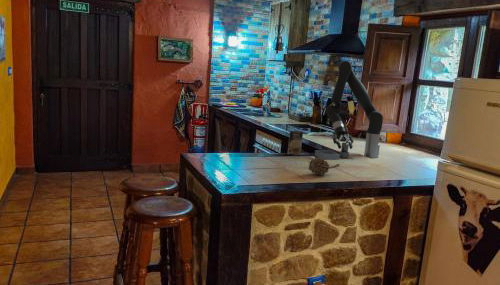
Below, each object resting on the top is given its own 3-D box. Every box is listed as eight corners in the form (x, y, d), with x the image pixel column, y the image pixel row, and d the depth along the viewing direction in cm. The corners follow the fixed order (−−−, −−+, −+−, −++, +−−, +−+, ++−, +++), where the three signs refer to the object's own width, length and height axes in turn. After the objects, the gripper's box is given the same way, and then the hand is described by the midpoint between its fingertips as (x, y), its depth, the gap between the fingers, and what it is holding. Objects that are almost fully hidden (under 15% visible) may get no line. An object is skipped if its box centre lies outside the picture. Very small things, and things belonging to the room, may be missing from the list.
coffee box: (287, 154, 288) (289, 131, 285) (287, 152, 295) (289, 130, 292) (300, 155, 287) (302, 132, 285) (300, 154, 294) (302, 131, 291)
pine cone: (314, 178, 229) (316, 160, 227) (303, 173, 237) (305, 156, 235) (343, 174, 241) (345, 158, 239) (331, 170, 249) (333, 154, 247)
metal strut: (345, 156, 288) (346, 142, 286) (348, 158, 284) (350, 143, 282) (339, 156, 286) (340, 142, 285) (342, 158, 282) (344, 143, 280)
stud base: (346, 157, 292) (347, 151, 291) (354, 161, 282) (355, 154, 281) (332, 157, 289) (333, 151, 288) (340, 161, 278) (341, 154, 278)
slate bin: (329, 157, 289) (330, 150, 288) (339, 161, 277) (339, 154, 276) (314, 157, 285) (315, 150, 285) (323, 161, 273) (323, 154, 273)
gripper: (332, 125, 286) (339, 145, 277) (350, 126, 291) (357, 145, 282) (328, 131, 292) (334, 151, 283) (345, 132, 296) (352, 151, 288)
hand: (345, 148), depth 283 cm, fingers open, 8 cm apart
